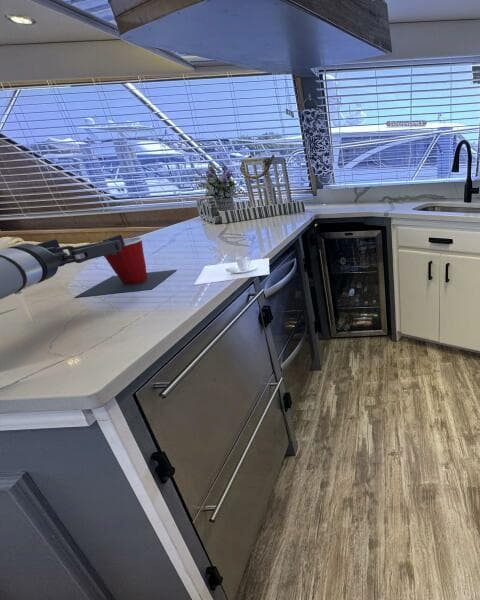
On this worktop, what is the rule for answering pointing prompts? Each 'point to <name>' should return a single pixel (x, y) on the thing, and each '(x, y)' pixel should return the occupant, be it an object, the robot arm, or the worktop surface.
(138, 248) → the plastic cup
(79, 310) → the worktop surface
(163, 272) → the mat
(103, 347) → the worktop surface
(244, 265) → the teacup and saucer
